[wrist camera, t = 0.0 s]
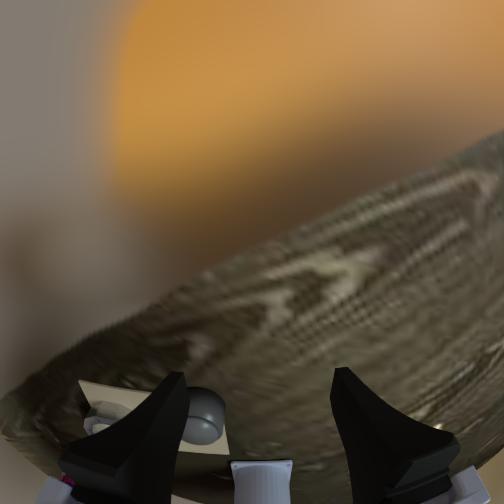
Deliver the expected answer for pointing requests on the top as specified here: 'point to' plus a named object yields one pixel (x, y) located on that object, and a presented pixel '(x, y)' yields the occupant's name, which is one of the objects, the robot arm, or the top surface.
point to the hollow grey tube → (104, 416)
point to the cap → (204, 417)
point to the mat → (132, 400)
